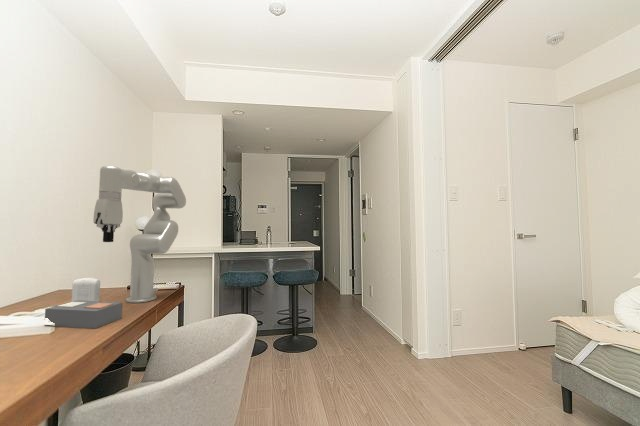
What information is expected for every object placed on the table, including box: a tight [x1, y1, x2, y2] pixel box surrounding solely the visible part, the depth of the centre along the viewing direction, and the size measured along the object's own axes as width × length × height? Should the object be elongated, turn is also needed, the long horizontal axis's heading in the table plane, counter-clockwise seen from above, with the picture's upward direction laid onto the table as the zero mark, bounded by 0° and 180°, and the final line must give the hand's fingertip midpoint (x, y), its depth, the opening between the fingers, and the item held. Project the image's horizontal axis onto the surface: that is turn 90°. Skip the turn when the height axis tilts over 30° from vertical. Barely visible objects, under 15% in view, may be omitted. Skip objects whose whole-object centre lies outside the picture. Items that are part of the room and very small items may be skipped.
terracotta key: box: [85, 303, 113, 309], centre depth 110 cm, size 6×6×4 cm
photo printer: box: [70, 277, 101, 302], centre depth 131 cm, size 10×4×12 cm, turn 98°
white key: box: [56, 301, 87, 308], centre depth 111 cm, size 6×6×4 cm
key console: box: [44, 300, 123, 329], centre depth 110 cm, size 12×20×6 cm, turn 85°
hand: (108, 241), depth 120 cm, fingers closed
